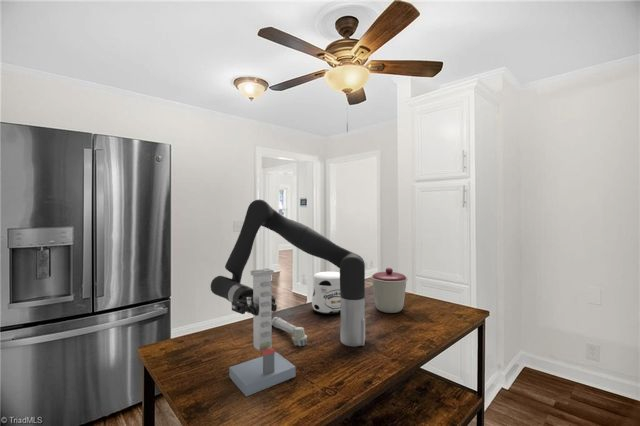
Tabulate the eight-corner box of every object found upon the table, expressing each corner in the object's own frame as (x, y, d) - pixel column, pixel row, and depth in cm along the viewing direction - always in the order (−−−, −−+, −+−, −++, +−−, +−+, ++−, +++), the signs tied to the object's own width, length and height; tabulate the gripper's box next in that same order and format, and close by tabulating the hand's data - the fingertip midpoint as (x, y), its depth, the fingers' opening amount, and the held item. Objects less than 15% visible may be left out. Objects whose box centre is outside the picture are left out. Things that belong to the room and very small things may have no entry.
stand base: (276, 360, 102) (275, 332, 101) (295, 376, 92) (295, 345, 92) (229, 377, 92) (229, 345, 92) (246, 396, 82) (245, 361, 82)
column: (267, 342, 95) (267, 268, 95) (275, 347, 91) (275, 271, 91) (251, 347, 92) (250, 270, 91) (258, 353, 88) (257, 273, 87)
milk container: (336, 319, 139) (336, 280, 138) (304, 312, 148) (304, 276, 147) (352, 309, 153) (352, 273, 153) (323, 303, 162) (323, 269, 162)
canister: (370, 303, 162) (370, 264, 162) (405, 304, 160) (405, 264, 160) (371, 315, 144) (371, 271, 144) (410, 317, 142) (410, 272, 142)
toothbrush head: (279, 315, 134) (308, 325, 114) (280, 330, 134) (310, 343, 113) (268, 317, 131) (296, 328, 111) (269, 333, 131) (298, 347, 110)
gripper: (221, 289, 98) (243, 302, 85) (262, 282, 107) (287, 293, 94) (222, 312, 98) (243, 328, 85) (262, 303, 107) (287, 317, 94)
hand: (266, 310), depth 89 cm, fingers open, 5 cm apart
